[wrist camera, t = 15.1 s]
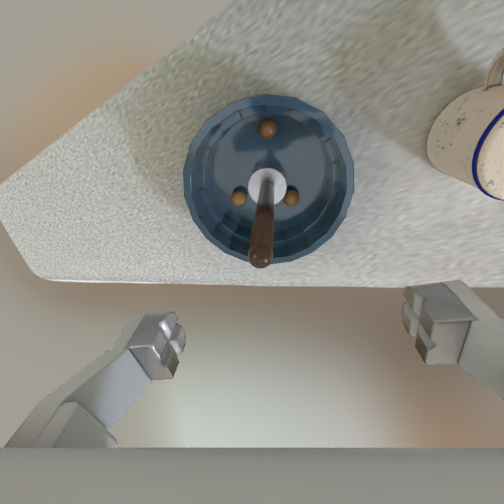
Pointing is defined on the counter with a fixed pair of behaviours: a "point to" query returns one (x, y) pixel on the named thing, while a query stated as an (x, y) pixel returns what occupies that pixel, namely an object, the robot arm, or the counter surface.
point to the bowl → (276, 151)
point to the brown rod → (264, 210)
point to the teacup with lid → (473, 135)
